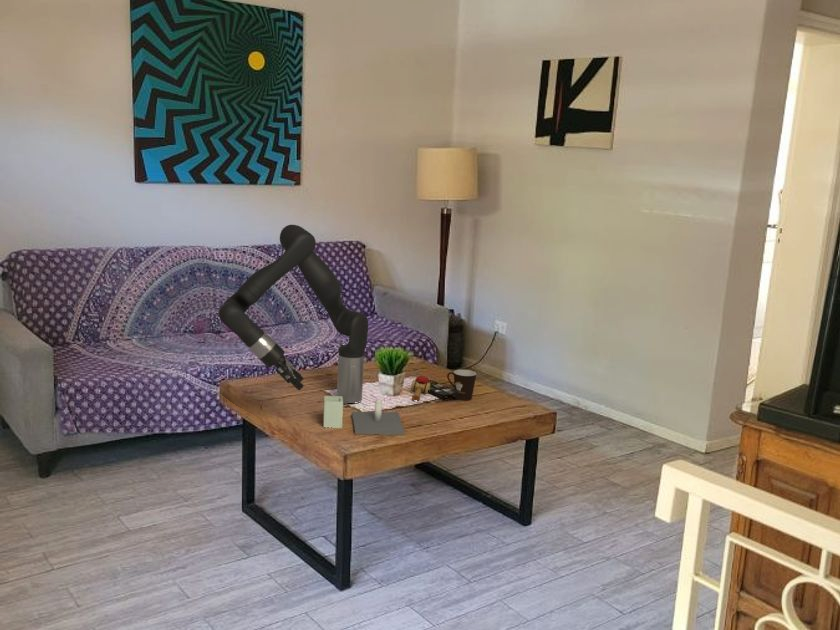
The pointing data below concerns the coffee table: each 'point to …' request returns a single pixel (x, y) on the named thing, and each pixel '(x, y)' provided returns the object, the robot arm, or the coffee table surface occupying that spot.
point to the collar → (333, 411)
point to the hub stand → (377, 422)
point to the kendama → (420, 387)
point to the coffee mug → (463, 384)
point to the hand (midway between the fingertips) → (301, 384)
